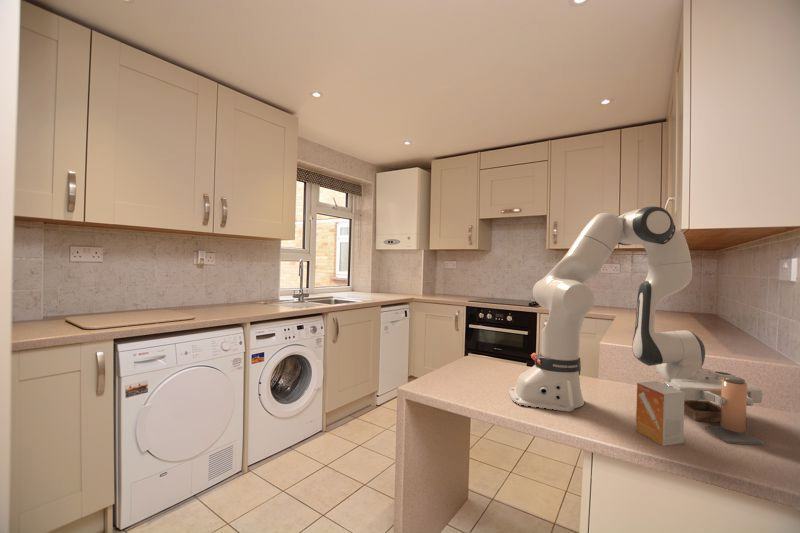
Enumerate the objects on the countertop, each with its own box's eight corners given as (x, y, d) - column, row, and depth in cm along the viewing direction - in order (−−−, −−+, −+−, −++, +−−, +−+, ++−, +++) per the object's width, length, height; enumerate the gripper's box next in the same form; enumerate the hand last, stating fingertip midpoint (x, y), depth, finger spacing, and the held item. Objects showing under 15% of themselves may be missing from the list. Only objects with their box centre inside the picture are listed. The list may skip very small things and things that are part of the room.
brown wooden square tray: (695, 420, 103) (695, 412, 103) (675, 407, 112) (675, 399, 112) (731, 422, 102) (731, 413, 102) (708, 408, 111) (708, 400, 111)
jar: (729, 431, 92) (731, 381, 92) (715, 423, 97) (717, 375, 96) (751, 432, 91) (752, 382, 91) (736, 424, 96) (737, 375, 96)
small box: (635, 430, 97) (636, 382, 97) (655, 428, 98) (656, 380, 98) (662, 446, 89) (663, 393, 89) (684, 444, 90) (685, 391, 90)
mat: (726, 442, 91) (726, 440, 91) (704, 427, 99) (704, 425, 99) (763, 445, 90) (763, 442, 90) (737, 429, 98) (737, 427, 98)
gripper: (660, 371, 108) (691, 388, 94) (738, 373, 105) (781, 391, 92) (660, 392, 108) (691, 412, 94) (737, 395, 105) (780, 416, 92)
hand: (736, 402), depth 93 cm, fingers closed on jar, 5 cm apart
